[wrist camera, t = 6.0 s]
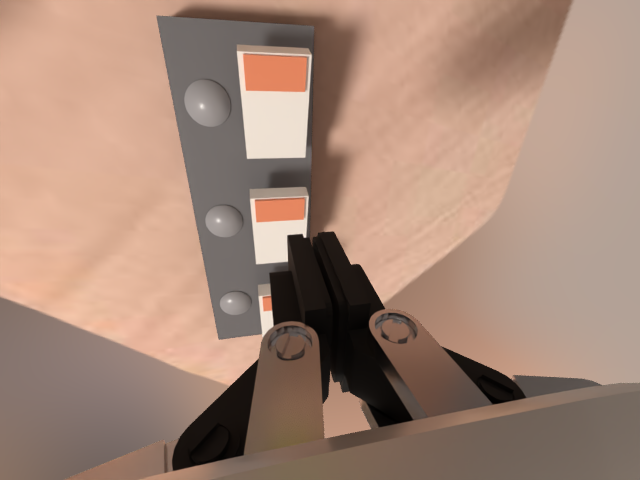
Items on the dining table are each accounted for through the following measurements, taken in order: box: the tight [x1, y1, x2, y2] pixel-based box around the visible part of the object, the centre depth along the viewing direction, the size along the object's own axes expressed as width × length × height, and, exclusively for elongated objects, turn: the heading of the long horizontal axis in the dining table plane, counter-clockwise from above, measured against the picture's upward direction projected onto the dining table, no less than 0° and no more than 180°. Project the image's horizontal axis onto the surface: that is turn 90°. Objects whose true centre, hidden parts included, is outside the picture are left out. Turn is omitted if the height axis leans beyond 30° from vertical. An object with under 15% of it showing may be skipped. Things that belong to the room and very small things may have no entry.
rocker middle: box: [250, 187, 309, 264], centre depth 23 cm, size 6×4×1 cm, turn 178°
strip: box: [157, 16, 314, 340], centre depth 25 cm, size 26×9×3 cm, turn 178°
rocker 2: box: [237, 45, 312, 159], centre depth 19 cm, size 6×4×1 cm, turn 178°
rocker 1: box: [258, 284, 273, 337], centre depth 27 cm, size 6×4×1 cm, turn 178°
